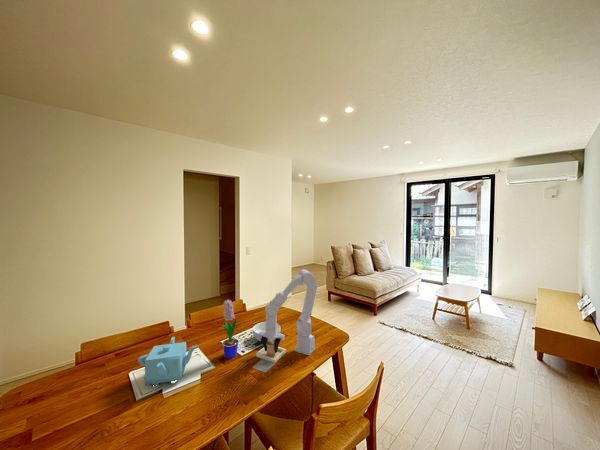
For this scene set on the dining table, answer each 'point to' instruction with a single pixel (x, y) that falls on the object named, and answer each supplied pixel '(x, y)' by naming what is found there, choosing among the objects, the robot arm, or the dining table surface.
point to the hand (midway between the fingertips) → (271, 351)
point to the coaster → (263, 365)
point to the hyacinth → (229, 331)
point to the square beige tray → (278, 355)
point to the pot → (270, 348)
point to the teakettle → (165, 362)
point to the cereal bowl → (262, 330)
